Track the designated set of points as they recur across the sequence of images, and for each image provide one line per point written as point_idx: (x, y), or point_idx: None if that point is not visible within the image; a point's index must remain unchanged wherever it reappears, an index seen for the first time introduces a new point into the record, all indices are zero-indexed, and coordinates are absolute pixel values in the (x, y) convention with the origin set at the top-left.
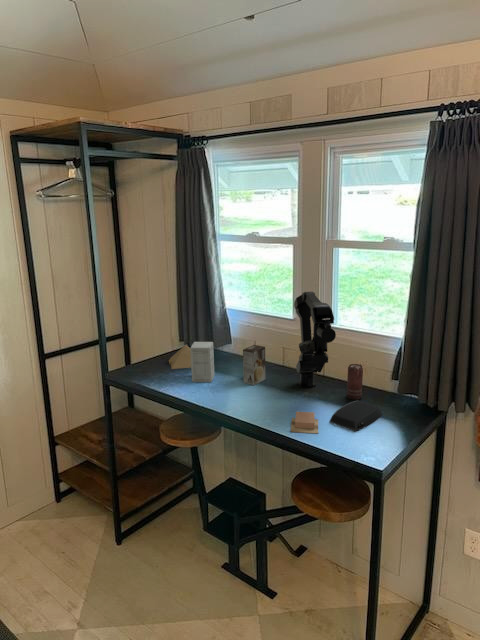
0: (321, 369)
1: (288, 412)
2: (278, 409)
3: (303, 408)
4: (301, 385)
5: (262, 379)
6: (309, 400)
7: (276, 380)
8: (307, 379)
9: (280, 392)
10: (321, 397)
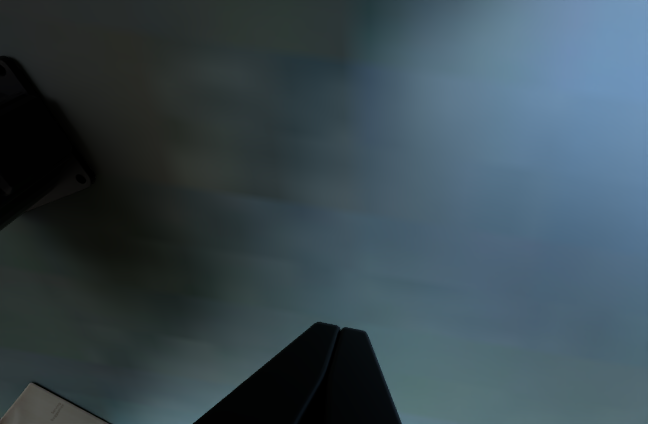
0: (385, 394)
1: (614, 359)
2: (538, 403)
3: (557, 245)
4: (65, 195)
5: (58, 408)
6: (372, 167)
7: (20, 329)
8: (20, 186)
9: (224, 342)
10: (290, 34)
